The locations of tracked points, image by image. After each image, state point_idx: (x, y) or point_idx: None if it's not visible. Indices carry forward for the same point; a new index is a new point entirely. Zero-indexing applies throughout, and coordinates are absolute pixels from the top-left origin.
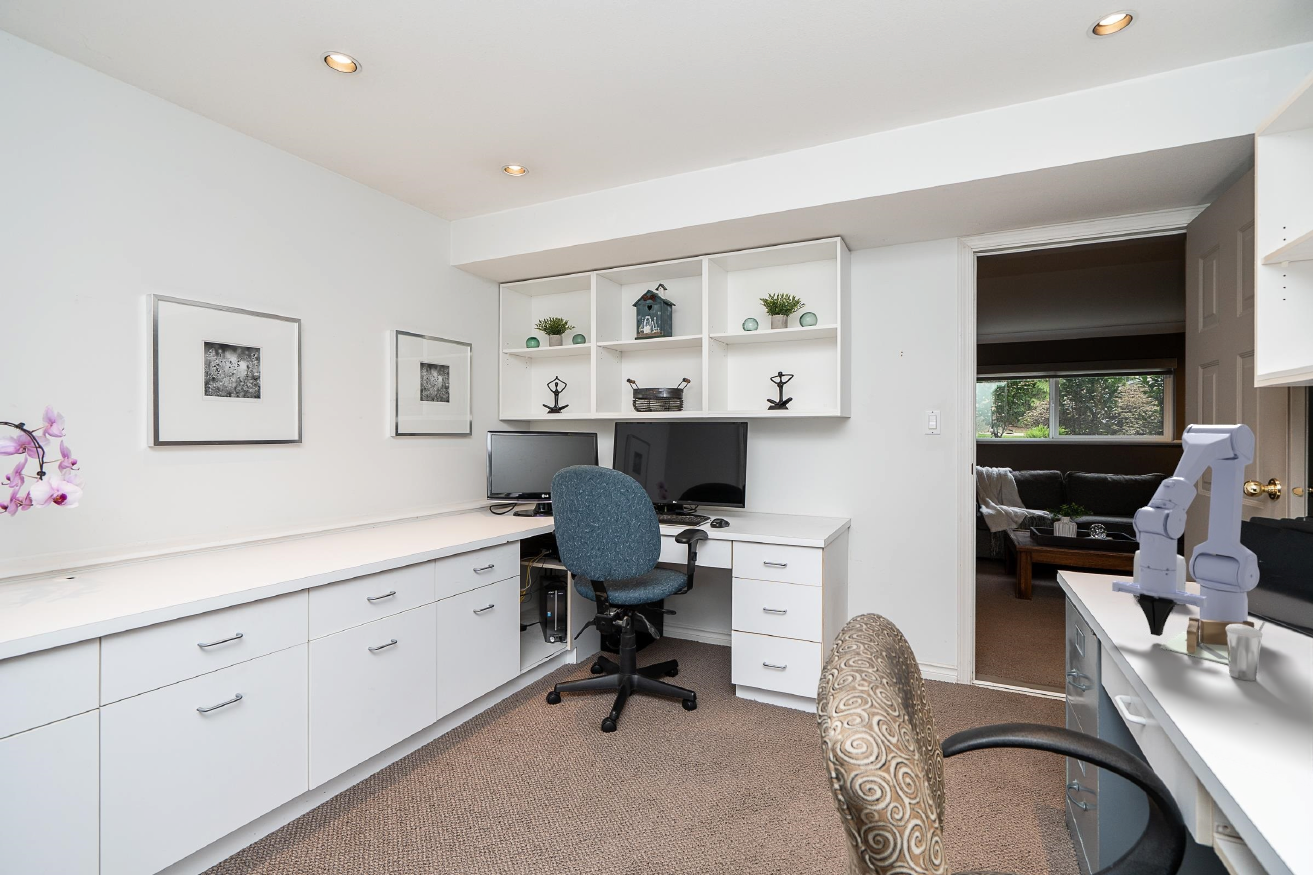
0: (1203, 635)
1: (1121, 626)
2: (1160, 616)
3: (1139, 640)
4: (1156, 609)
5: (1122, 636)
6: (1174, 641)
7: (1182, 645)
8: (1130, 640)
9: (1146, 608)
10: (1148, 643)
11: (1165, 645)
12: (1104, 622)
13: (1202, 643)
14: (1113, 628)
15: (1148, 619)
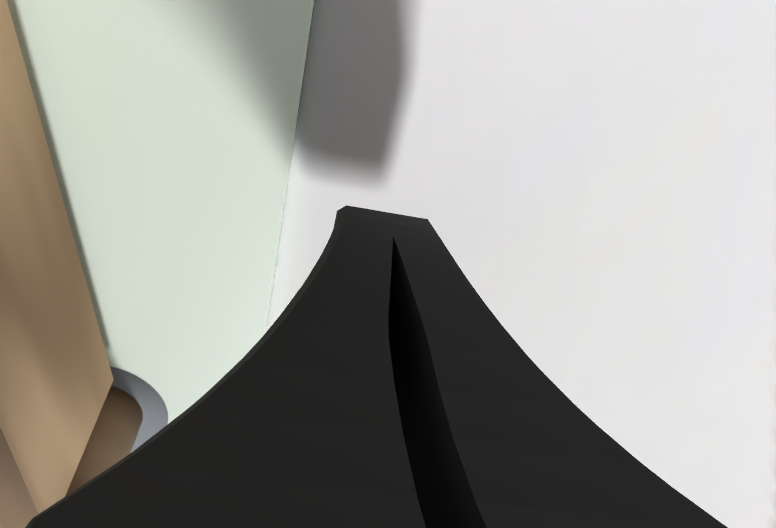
0: None
1: None
2: (298, 373)
3: (531, 151)
4: (369, 477)
5: (693, 178)
6: (227, 312)
7: (136, 228)
8: (630, 76)
9: (586, 485)
10: (444, 99)
11: (271, 96)
12: (764, 483)
13: None
14: (726, 380)
15: (491, 329)
